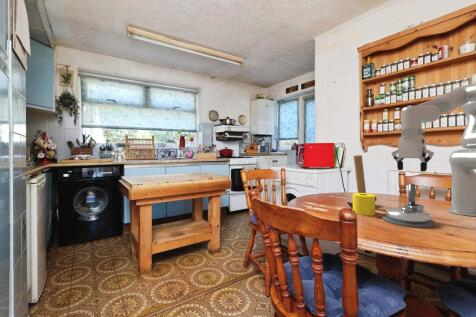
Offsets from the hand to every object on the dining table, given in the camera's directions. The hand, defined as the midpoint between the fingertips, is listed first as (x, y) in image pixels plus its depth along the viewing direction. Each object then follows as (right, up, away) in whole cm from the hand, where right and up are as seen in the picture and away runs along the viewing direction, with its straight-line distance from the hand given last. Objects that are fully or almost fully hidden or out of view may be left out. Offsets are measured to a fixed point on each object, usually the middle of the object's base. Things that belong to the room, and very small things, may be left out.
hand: (411, 170), depth 107 cm
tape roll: (-16, -23, +11) cm, 30 cm away
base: (-4, -23, -3) cm, 23 cm away
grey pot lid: (-4, -21, -3) cm, 22 cm away
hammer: (-10, -22, +24) cm, 34 cm away
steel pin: (0, -18, -1) cm, 18 cm away
